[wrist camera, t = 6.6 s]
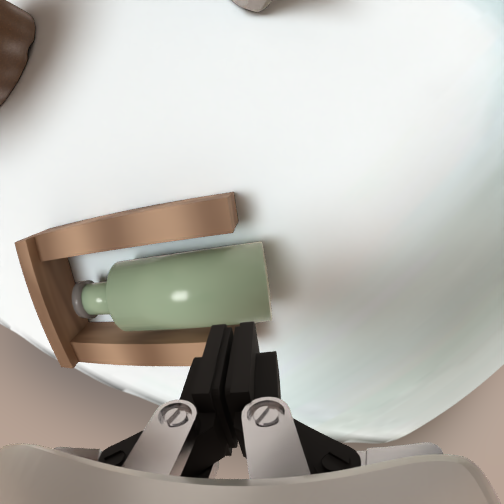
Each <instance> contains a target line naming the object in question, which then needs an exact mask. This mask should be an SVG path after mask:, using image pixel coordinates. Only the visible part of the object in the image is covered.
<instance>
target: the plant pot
mask: <svg viewBox="0 0 504 504" xmlns="http://www.w3.org/2000/svg"><path fill="white" fill-rule="evenodd" d="M34 35H35V24H34V20H33V18H32V16H31V15H30V14H29V13H27V12H25V11H24V10H22V9H20V8H18V7H17V6H15V5H13V4H11V3H10V2H8V1H6V0H0V106H1V104H2V103H3V102H4V101H5V100H6V98H7V97H8V95H9V94H10V93H11V91H12V90H13V88H14V86H15V85H16V83H17V81H18V79H19V77H20V76H21V74H22V72H23V69H24V67H25V65H26V63H27V60H28V56H27V52H28V48H29V46H30V44H31V43H32V42H33V41H34Z"/></svg>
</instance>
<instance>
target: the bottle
mask: <svg viewBox="0 0 504 504" xmlns="http://www.w3.org/2000/svg"><path fill="white" fill-rule="evenodd" d="M72 305H73V308H74V310H75V312H76V314H77V315H78V316H79V317H81V318H84V319H85V318H95V317H96V316H97V315H103V314H111V317H112V319H113V321H114V322H115V324H116V325H117V326H118V327H119V328H120V329H121V330H123V331H127V332H130V331H156V330H175V329H191V328H204V327H211V326H212V325H219V324H226V325H227V326H228V325H238V324H240V323H241V322H252V321H254V322H255V323H257V322H266V321H272V307H271V297H270V288H269V279H268V272H267V265H266V258H265V252H264V247H263V243H262V241H260V242H253V243H245V244H238V245H231V246H224V247H216V248H209V249H202V250H195V251H188V252H181V253H174V254H167V255H160V256H153V257H146V258H139V259H133V260H126V261H119V262H117V263H115V264H114V265H113V266H112V268H111V270H110V272H109V274H108V278H107V282H98V283H94V282H93V281H90V280H86V281H79V282H77V283H76V284H75V286H74V287H73V290H72Z"/></svg>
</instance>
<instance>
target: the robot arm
mask: <svg viewBox="0 0 504 504" xmlns="http://www.w3.org/2000/svg"><path fill="white" fill-rule="evenodd" d="M238 442H239V444H240V447H241V451H242V454H243V456H244V457H246V459H247V463H248V470H249V477H250V479H215V476H216V474H217V470H218V468H219V460H220V459H222V458H223V457H225V456H231V453H232V448H236V447H237V444H238ZM0 504H501V502H500V500H499V498H498V496H497V494H496V492H495V490H494V489H493V487H492V485H491V483H490V481H489V480H488V479H487V477H486V476H485V474H484V473H483V472H482V470H481V469H480V468H479V467H478V466H477V465H476V464H475V463H474V462H473V461H471V460H469V459H468V458H465V457H461V456H457V455H448V454H443V452H442V450H441V449H440V448H439V447H438V446H437V445H435V444H432V443H418V444H410V445H402V446H392V447H379V448H367V451H355V450H354V449H352V448H350V447H349V446H347V445H344V444H342V443H340V442H338V441H336V440H334V439H332V438H330V437H328V436H326V435H324V434H322V433H320V432H318V431H316V430H314V429H312V428H310V427H308V426H306V425H304V424H303V423H301V422H299V421H297V420H295V419H293V417H292V414H291V411H290V408H289V406H288V404H287V403H286V402H284V401H283V400H281V393H280V379H279V369H278V361H277V353H276V351H274V352H264V353H260V352H259V346H258V340H257V334H256V327H255V322H254V321H252V322H241V323H240V326H237V327H235V330H234V335H233V330H232V327H227V325H226V324H219V325H212V326H211V329H210V332H209V336H208V339H207V342H206V345H205V349H204V352H203V355H202V357H195V358H194V359H193V361H192V364H191V367H190V370H189V373H188V376H187V379H186V382H185V385H184V388H183V391H182V394H181V397H180V400H172V401H169V402H166V403H164V404H162V405H161V406H160V407H159V408H158V409H157V410H156V411H155V413H154V414H153V416H152V418H151V419H150V421H149V423H148V424H147V426H146V428H145V429H144V430H143V431H141V432H139V433H137V434H135V435H133V436H131V437H129V438H127V439H125V440H123V441H121V442H119V443H117V444H115V445H113V446H110V447H108V448H107V449H105V450H104V451H103V452H102V451H101V450H100V449H84V448H68V447H57V448H54V449H52V448H49V447H44V446H40V445H33V444H10V445H6V446H4V447H2V448H1V449H0Z"/></svg>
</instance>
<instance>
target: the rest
mask: <svg viewBox="0 0 504 504" xmlns="http://www.w3.org/2000/svg"><path fill="white" fill-rule="evenodd" d="M237 223H238V216H237V209H236V203H235V196H234V192H230V193H223V194H216V195H210V196H204V197H197V198H191V199H185V200H180V201H174V202H168V203H163V204H158V205H152V206H147V207H142V208H137V209H132V210H127V211H122V212H118V213H113V214H108V215H104V216H99V217H95V218H91V219H86V220H82V221H78V222H74V223H70V224H66V225H62V226H58V227H54V228H50V229H47V230H44V231H42V232H39V233H37V234H34V235H32V236H29V237H27V238H25V239H22V240H20V241H17V242H15V246H16V250H17V254H18V258H19V261H20V265H21V268H22V272H23V275H24V278H25V281H26V284H27V287H28V290H29V293H30V296H31V299H32V301H33V304H34V307H35V309H36V312H37V315H38V317H39V320H40V322H41V324H42V327H43V329H44V331H45V334H46V336H47V338H48V340H49V343H50V345H51V347H52V349H53V351H54V353H55V355H56V357H57V359H58V361H59V363H60V365H61V367H66V368H74V367H75V366H76V364H77V363H78V362H86V363H98V364H113V365H134V366H191V364H192V361H193V359H194V358H195V357H202V355H203V352H204V349H205V345H206V342H207V339H208V336H209V332H210V329H211V327H204V328H191V329H175V330H156V331H130V332H127V331H123V330H121V329H120V328H119V327H118V326H117V325H116V324H115V322H89V321H88V319H87V318H85V319H84V318H81V317H79V316H78V315H77V314H76V312H75V310H74V308H73V305H72V290H73V287H74V286H75V281H74V278H73V275H72V271H71V268H70V264H69V261H68V257H72V256H78V255H84V254H90V253H96V252H103V251H109V250H116V249H122V248H129V247H135V246H142V245H149V244H156V243H163V242H170V241H177V240H184V239H191V238H198V237H205V236H213V235H220V234H228V233H233V231H234V229H235V227H236V225H237ZM237 326H240V324H238V325H228V326H227V327H232V330H233V335H234V330H235V327H237Z"/></svg>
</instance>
